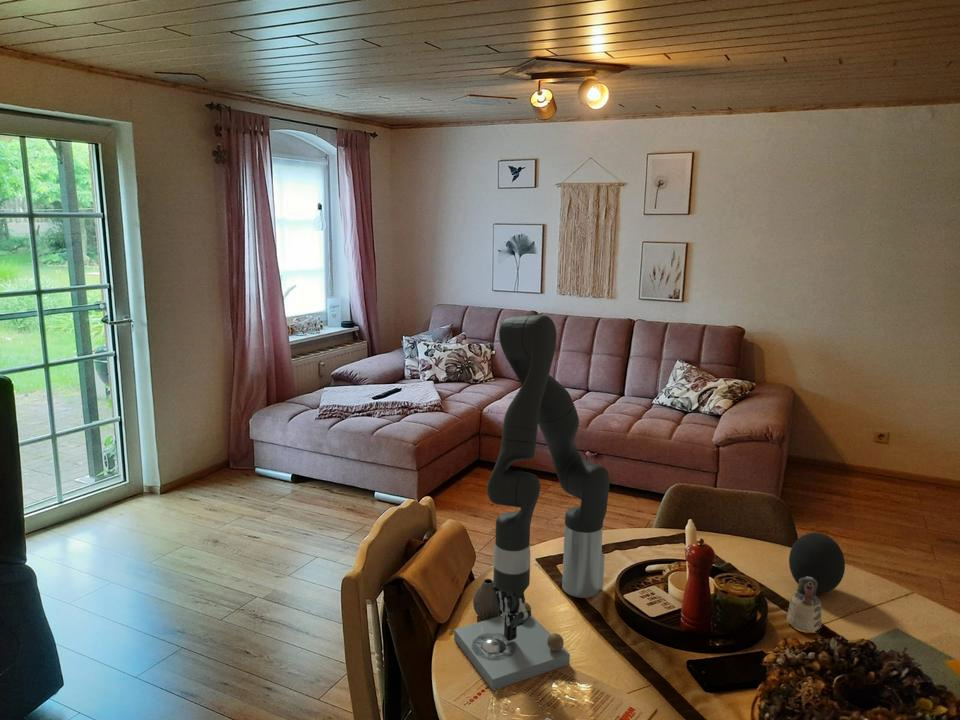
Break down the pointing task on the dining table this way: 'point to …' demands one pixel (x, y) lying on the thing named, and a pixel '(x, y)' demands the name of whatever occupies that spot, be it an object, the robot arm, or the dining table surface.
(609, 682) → the dining table surface
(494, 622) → the hole plate
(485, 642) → the steel ball
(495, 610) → the vase
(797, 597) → the figurine
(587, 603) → the dining table surface
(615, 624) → the dining table surface
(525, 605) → the walnut ball
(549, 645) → the walnut ball
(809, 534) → the decorative egg
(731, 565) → the dining table surface
